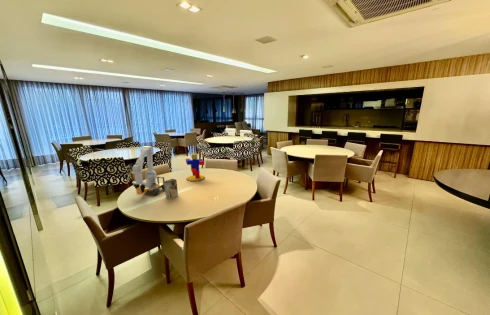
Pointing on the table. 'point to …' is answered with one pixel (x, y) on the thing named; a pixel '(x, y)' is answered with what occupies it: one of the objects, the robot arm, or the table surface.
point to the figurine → (195, 168)
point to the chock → (140, 191)
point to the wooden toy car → (156, 187)
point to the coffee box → (171, 188)
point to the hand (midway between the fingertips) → (140, 191)
